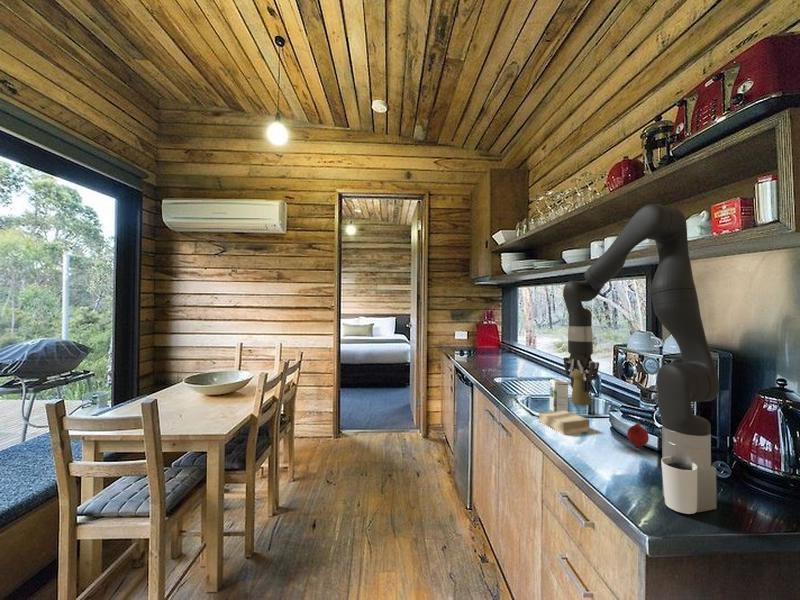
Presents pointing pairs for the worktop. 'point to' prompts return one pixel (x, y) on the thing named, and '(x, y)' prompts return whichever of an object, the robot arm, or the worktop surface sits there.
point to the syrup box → (558, 395)
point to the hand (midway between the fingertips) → (580, 390)
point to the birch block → (564, 422)
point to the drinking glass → (679, 486)
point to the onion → (637, 435)
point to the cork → (579, 389)
